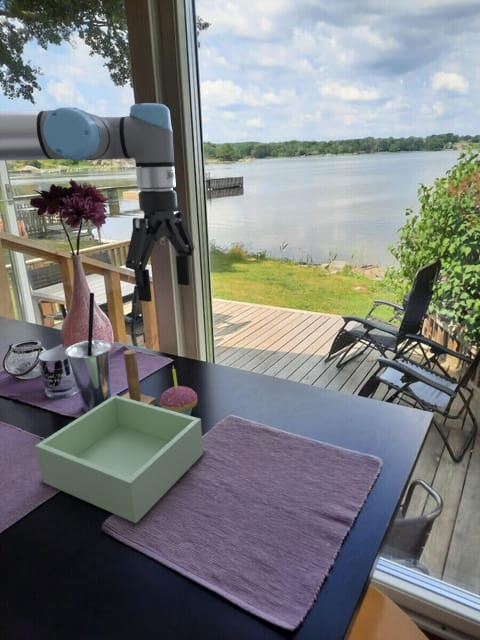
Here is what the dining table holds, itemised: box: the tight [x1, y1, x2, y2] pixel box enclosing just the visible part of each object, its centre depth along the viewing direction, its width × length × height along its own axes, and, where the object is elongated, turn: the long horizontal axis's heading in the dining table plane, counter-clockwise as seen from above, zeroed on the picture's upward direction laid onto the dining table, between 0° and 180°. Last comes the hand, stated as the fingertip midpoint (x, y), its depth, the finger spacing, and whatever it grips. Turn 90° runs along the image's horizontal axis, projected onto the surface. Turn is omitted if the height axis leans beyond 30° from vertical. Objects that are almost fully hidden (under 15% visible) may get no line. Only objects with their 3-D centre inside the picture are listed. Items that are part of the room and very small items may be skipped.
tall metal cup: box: [64, 292, 112, 414], centre depth 100 cm, size 11×11×30 cm
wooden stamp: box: [121, 349, 158, 407], centre depth 101 cm, size 8×5×15 cm, turn 62°
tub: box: [34, 394, 204, 524], centre depth 83 cm, size 22×20×8 cm
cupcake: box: [159, 365, 198, 416], centre depth 98 cm, size 9×8×12 cm
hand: (165, 292), depth 95 cm, fingers open, 13 cm apart
